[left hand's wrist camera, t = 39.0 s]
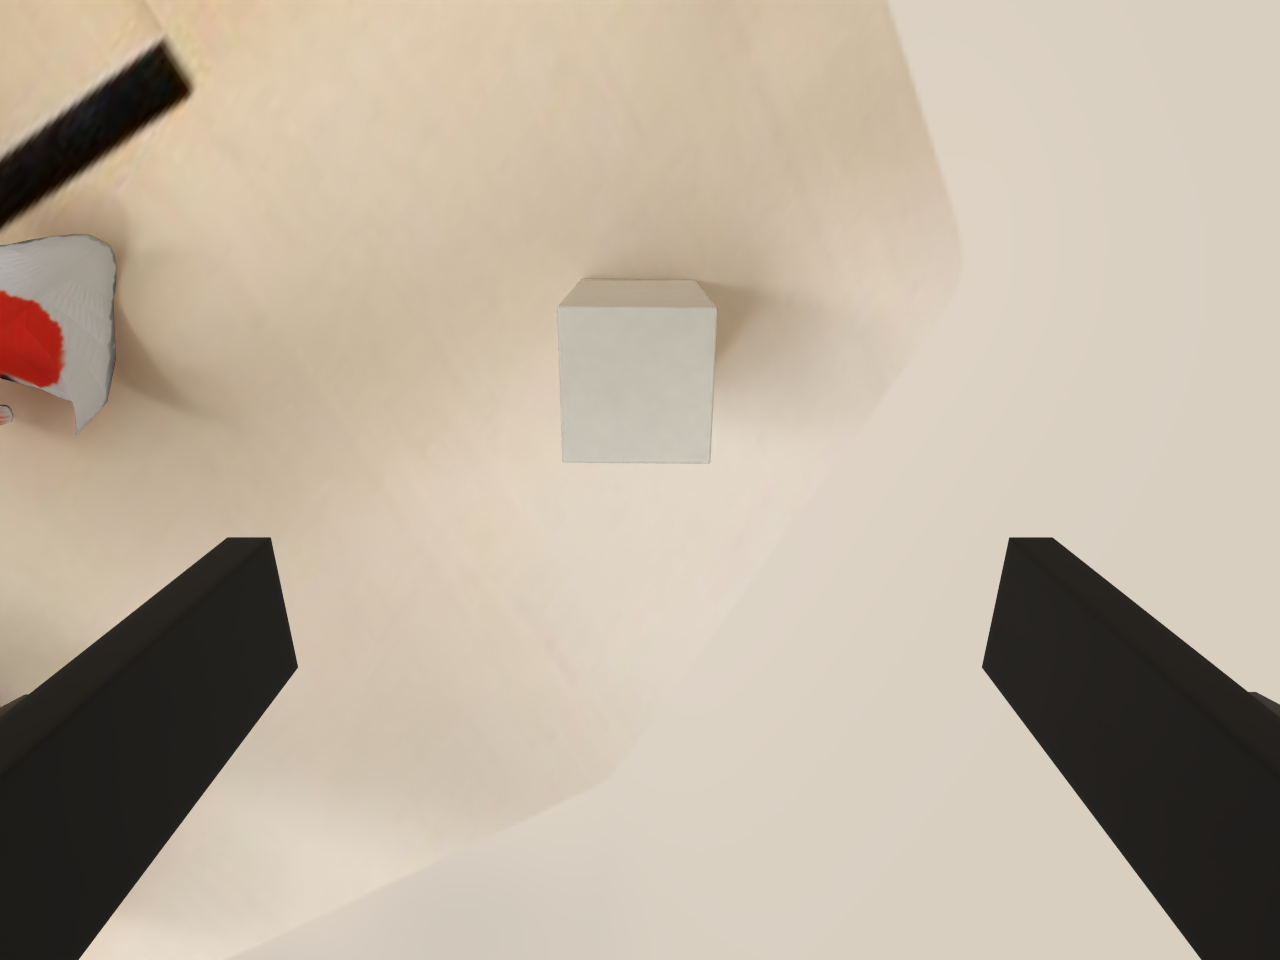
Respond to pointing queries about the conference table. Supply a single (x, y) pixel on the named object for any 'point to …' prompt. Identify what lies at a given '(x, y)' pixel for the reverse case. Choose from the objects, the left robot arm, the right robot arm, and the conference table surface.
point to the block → (636, 371)
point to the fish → (59, 320)
